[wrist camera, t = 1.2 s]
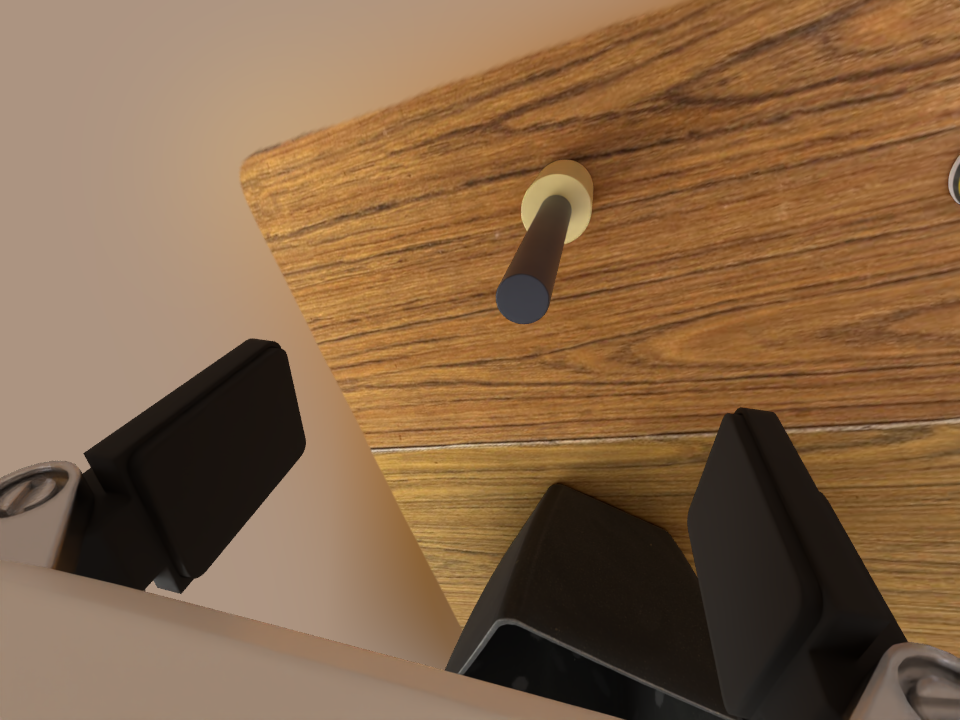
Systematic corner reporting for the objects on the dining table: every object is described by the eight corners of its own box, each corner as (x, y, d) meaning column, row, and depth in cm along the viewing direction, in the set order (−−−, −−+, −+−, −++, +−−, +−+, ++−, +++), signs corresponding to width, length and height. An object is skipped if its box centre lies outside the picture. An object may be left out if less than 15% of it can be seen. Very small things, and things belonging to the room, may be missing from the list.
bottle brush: (524, 177, 31) (442, 270, 15) (579, 147, 29) (553, 217, 13) (548, 230, 32) (496, 366, 17) (602, 205, 31) (602, 330, 15)
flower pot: (471, 553, 53) (423, 720, 39) (533, 444, 43) (499, 619, 29) (621, 617, 53) (628, 810, 39) (720, 524, 42) (779, 740, 28)
